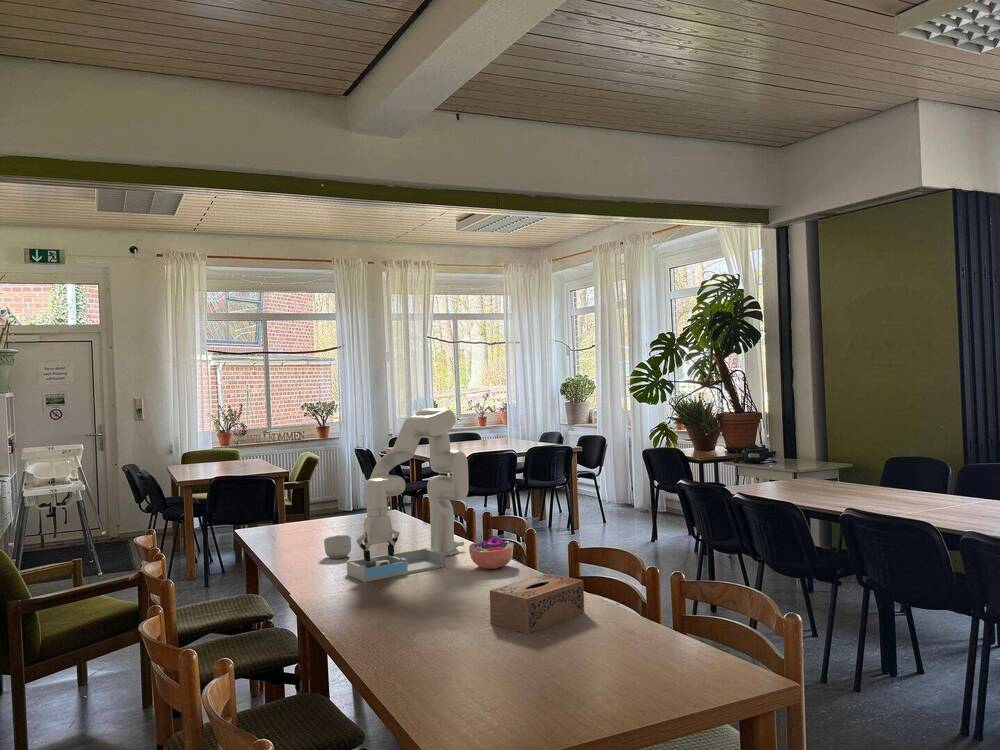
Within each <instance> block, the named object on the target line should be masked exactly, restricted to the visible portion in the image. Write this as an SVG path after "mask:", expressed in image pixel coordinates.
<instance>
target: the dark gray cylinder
mask: <svg viewBox="0 0 1000 750" xmlns="http://www.w3.org/2000/svg"><path fill="white" fill-rule="evenodd" d="M387 564H389V561H388V560H383V561H382V560H379V559H376V558H370V561H369V562H368V561H367V564H366V565H367V568H370V567H376V566H382V565H387Z"/></svg>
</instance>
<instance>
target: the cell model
mask: <svg viewBox="0 0 1000 750" xmlns="http://www.w3.org/2000/svg"><path fill="white" fill-rule="evenodd" d="M468 548H469V549H468V550H469V556H470V559H471V561H472V562H473V563H474V564H475V565H476V566H478V567H480V568H481V569H487V570H488V569H491V570H493V569H494V570H495V569H499V568H501V567H505V566H507V565H508V564H509V563H510V562H511V560H512V559H513V555H514V543H513V542H511V541H507V540H502V539H501V537H499V536H497V535H492V536H489V537H488V540H483V541H478V542H473V543H471V544H469V546H468Z"/></svg>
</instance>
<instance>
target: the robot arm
mask: <svg viewBox="0 0 1000 750" xmlns="http://www.w3.org/2000/svg"><path fill="white" fill-rule="evenodd" d="M456 419H457V418H456V415H455V413H454V412H453V411H452V410H451V409H448V408H423V409H419V410H418V411H417V412H416V413H415V415H411V416H407V417H406V419H404V421H403V423H402V426H401V428H400V430H399V433H398V435H397V437H396V440H395V442H394V445H393V447H392V448H391V449H390V450H389V451H388V452H386V453H385V454H384V455H383V456H382V457H381V458H380V459H379V460H378V461H377V462H376V464H375V466H374V468H373V470H372V472H371V475H370V477H369V479H367V480H366V482H365V498H366V499H365V500H366V516H365V517H364V522H363V528H362V529H363V532H362V533H363V534H362V535H360V536H359V537H358V538H357V539H355V540H356V543H357V544H358V546H359V548H361V550H363V558H364V559H365V561H368V562H369V561H370V557H371V551H370V550H369V549H371V546H373V545H377V544H378V545H379V544H384V543H387V554H388V555H389V556H391V557H393V556H394V553H395V545H396V543H397V542H398V539H399V536H400V534H401V533H400V532H399V531H396V530H395V529H393V525H392V521H391V517H390V514H389V512H390V511H391V509H392V508H391V507H390V506H388V497H391V496H392V497H395V496H399V495H401V494H403V493H404V491H405V489H406V484H407V483H406V481H405V479H404V478H403V477H401V476H399V475H394V474H389V472H390V471H392V469H394V468H395V467H396V466H398V465H400V464H402V463H405V462H407V461H409V460H411V459H412V458H413V457H414V455H415V453H416V450H417V448H418V447H419V444H420V441H421V439H422V438H427V439H428V445H429V446H428V447H429V465H430V468H431V470H432V471H433V472H435V473H440V474H441V473H442V474H451V476H450V475H435V476H433V477H431V478H430V479H429V480H428V482H427V485H426V490H427V496H428V501H429V513H430V515H429V516H430V525H429V526H430V548H429V549H430V550H433V551H436V552H439V553H443V554H445V557H446V556H448V555H449V556H454V555H457V554H458V553H459V549H458V547H463V546H465V542H464V541H463V540H461V541H456V540H455V533H454V532H455V530H454V529H455V528H454V527H455V525H454V523H455V522H454V515H455V514H454V507H453V504H452V503H451V501H463V500H465V499H466V497H467V496H468V494H469V463H468V458H467V455H466V454H465V452H463V451H461V450H458V449H451V439H450V435H449V432H448V431H450V430H452V428H453V427H454V426H455V424H456ZM393 535H394V536H393ZM457 552H458V553H457ZM456 553H457V554H456ZM453 554H454V555H453Z"/></svg>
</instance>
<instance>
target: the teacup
mask: <svg viewBox="0 0 1000 750" xmlns="http://www.w3.org/2000/svg"><path fill="white" fill-rule="evenodd" d="M323 543H324V551H325V552H324V553H325V555H326V556H327V557H329V558H330V559H334V560H335V559H336V560H337V559H343V558H346V557H347V556H348V555H349V554H350V553H351V552H352V536H351V535H345V534H344V535H341V534H338V535H337V534H336V535H334V536H332V535H331V536H328V537H326V538H324V539H323Z"/></svg>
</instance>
